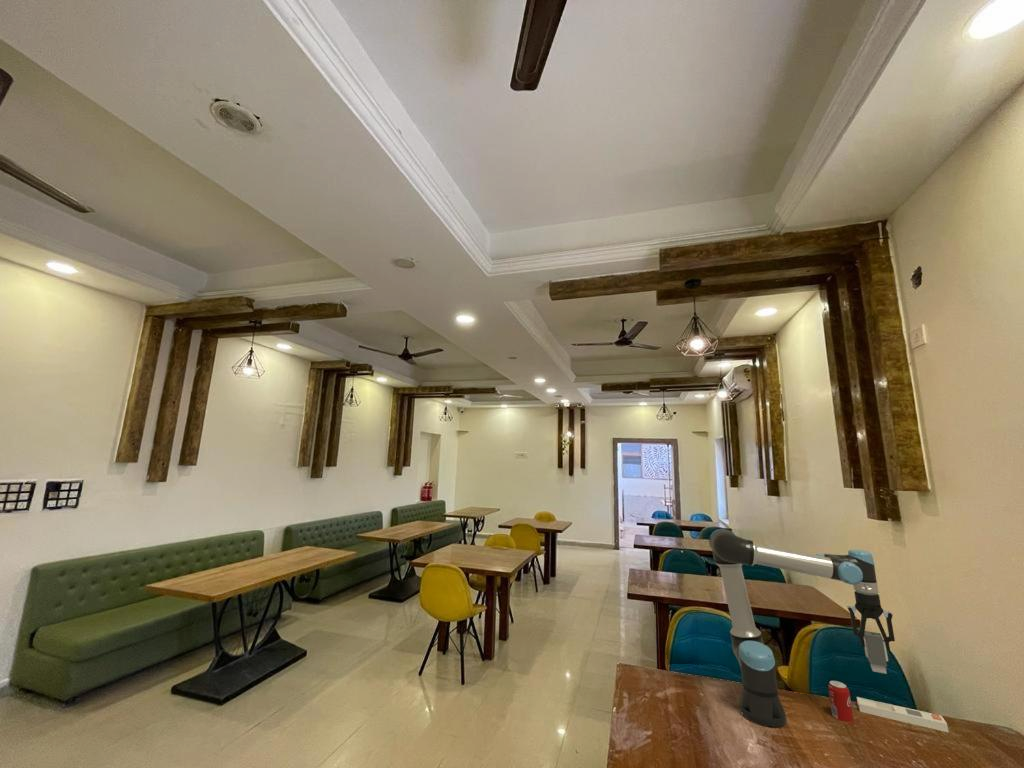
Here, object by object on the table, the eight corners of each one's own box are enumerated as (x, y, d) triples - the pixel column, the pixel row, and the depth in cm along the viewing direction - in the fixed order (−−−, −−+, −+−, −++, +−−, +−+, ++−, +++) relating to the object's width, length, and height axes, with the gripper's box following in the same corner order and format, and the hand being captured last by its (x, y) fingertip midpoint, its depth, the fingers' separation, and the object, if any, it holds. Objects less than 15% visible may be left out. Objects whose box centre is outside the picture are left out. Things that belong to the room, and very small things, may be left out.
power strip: (850, 712, 158) (848, 699, 159) (848, 704, 163) (846, 692, 164) (949, 735, 144) (946, 722, 145) (943, 726, 149) (941, 713, 150)
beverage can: (858, 726, 149) (852, 689, 152) (838, 724, 150) (832, 687, 153) (847, 716, 155) (842, 680, 158) (828, 714, 156) (823, 679, 159)
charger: (871, 671, 157) (865, 634, 160) (869, 666, 161) (863, 630, 164) (888, 674, 155) (882, 637, 157) (885, 669, 159) (879, 633, 161)
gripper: (838, 591, 165) (848, 656, 161) (898, 598, 156) (910, 667, 151) (836, 586, 172) (845, 649, 167) (894, 593, 162) (905, 660, 157)
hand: (876, 658), depth 159 cm, fingers closed on charger, 5 cm apart
